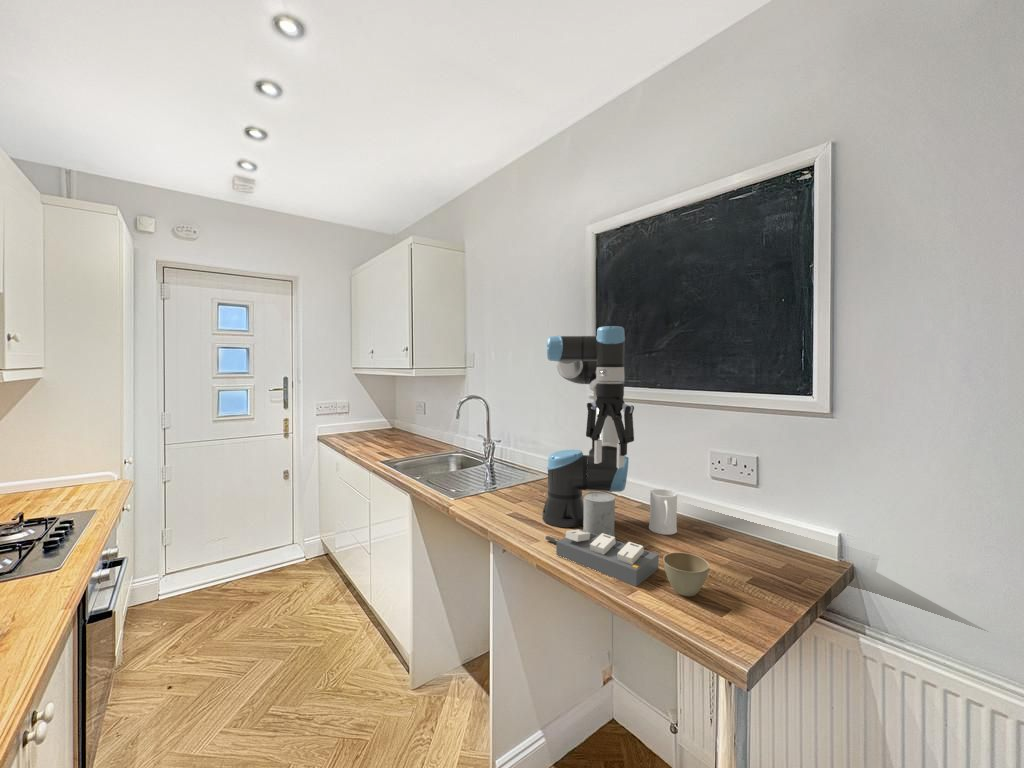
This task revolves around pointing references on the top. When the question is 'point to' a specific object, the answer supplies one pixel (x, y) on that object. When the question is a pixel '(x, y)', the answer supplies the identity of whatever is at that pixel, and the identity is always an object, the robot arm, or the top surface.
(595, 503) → the grey concrete cylinder
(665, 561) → the flower pot
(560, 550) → the power strip
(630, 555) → the rocker
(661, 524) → the mug
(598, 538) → the block
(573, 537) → the rocker
